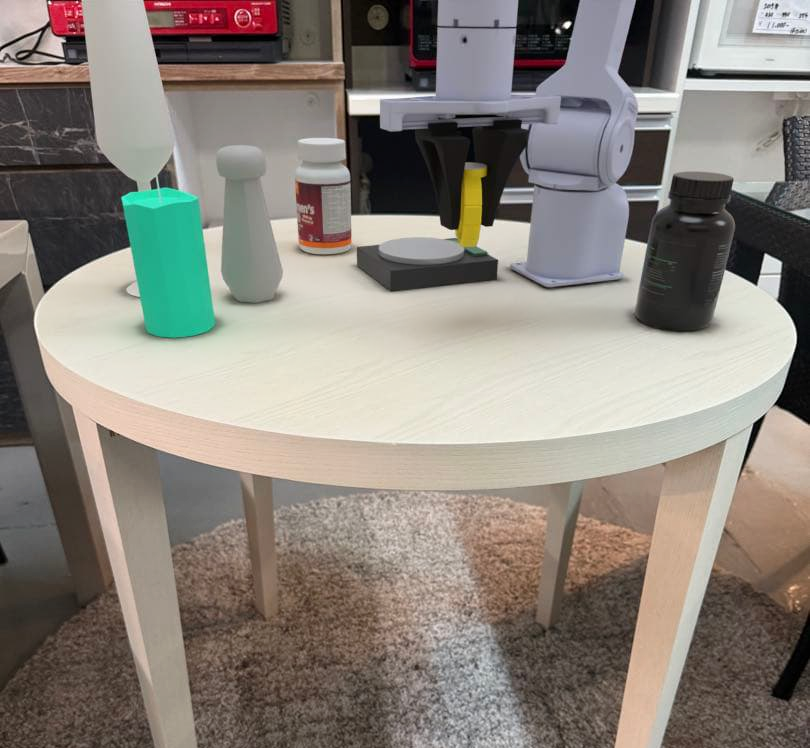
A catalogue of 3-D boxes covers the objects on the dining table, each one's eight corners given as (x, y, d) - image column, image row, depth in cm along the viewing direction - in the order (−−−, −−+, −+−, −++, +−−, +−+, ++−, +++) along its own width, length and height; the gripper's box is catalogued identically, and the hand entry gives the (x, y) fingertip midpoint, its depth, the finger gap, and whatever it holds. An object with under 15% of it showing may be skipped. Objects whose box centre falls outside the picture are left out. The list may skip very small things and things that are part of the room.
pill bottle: (289, 247, 89) (281, 139, 82) (333, 240, 92) (329, 135, 86) (317, 258, 85) (311, 145, 78) (362, 250, 88) (360, 141, 82)
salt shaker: (272, 308, 70) (258, 152, 63) (214, 303, 71) (194, 150, 64) (292, 289, 75) (281, 143, 68) (238, 285, 76) (221, 140, 69)
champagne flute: (182, 274, 79) (139, -9, 65) (205, 291, 74) (165, -10, 61) (117, 284, 76) (58, -11, 62) (138, 302, 71) (78, -13, 58)
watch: (445, 234, 66) (447, 159, 63) (477, 234, 66) (481, 158, 63) (454, 252, 61) (457, 171, 58) (488, 251, 61) (493, 170, 58)
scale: (455, 255, 87) (456, 232, 85) (496, 279, 79) (498, 253, 78) (356, 265, 83) (356, 240, 81) (390, 291, 75) (390, 264, 74)
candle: (152, 315, 68) (125, 169, 62) (219, 314, 69) (200, 169, 62) (138, 338, 63) (108, 182, 57) (211, 337, 64) (189, 182, 57)
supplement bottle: (687, 306, 72) (718, 168, 66) (726, 329, 67) (764, 182, 60) (621, 309, 71) (645, 169, 64) (655, 334, 66) (686, 184, 59)
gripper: (406, 28, 49) (404, 244, 57) (592, 29, 54) (567, 228, 62) (368, 26, 55) (371, 224, 63) (540, 27, 60) (523, 211, 67)
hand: (466, 225), depth 63 cm, fingers closed on watch, 2 cm apart
